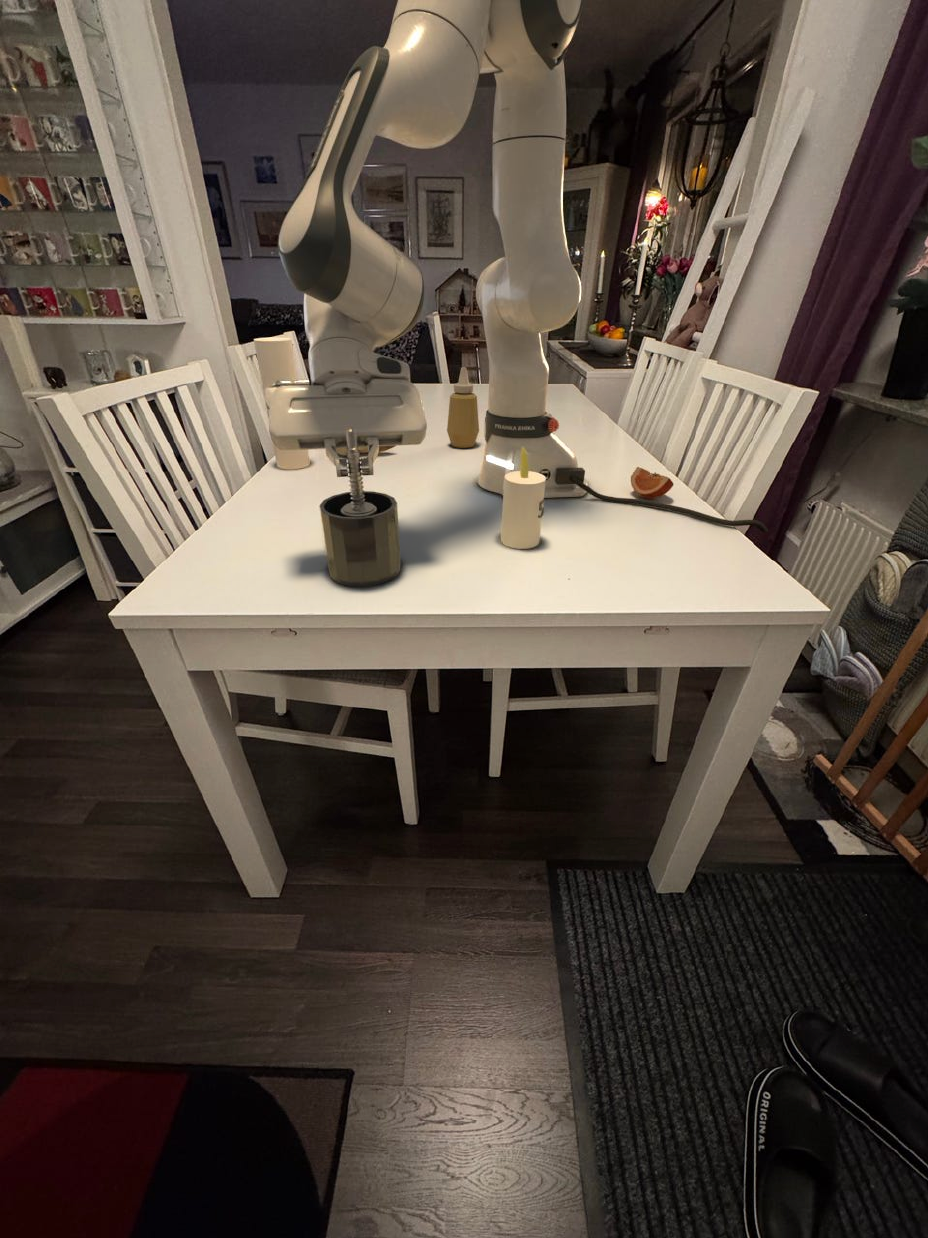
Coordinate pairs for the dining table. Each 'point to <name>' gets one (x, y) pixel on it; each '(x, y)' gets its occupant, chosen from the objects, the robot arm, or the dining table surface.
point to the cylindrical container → (275, 367)
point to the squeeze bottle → (463, 414)
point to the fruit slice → (650, 483)
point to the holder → (361, 540)
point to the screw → (355, 481)
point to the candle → (522, 506)
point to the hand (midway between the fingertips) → (355, 474)
